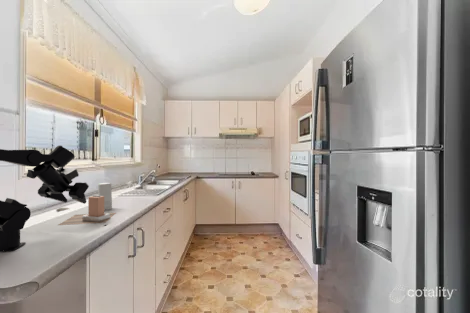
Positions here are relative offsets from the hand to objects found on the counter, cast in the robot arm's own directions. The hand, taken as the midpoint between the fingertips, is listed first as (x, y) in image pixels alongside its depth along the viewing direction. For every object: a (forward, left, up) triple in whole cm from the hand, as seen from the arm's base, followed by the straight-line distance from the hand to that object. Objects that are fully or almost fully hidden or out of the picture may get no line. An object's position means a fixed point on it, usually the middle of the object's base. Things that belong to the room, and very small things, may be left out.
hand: (76, 202), depth 102 cm
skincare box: (+33, -2, -11) cm, 35 cm away
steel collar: (+8, -5, -9) cm, 13 cm away
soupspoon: (+28, +18, -11) cm, 35 cm away
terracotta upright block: (+8, -5, -9) cm, 13 cm away
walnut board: (+10, -2, -11) cm, 15 cm away
